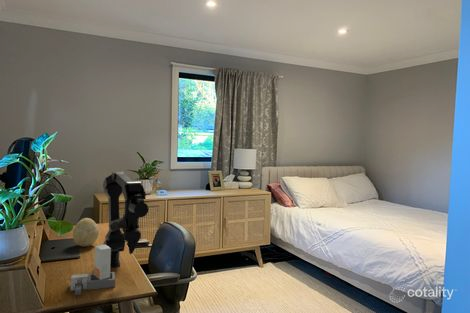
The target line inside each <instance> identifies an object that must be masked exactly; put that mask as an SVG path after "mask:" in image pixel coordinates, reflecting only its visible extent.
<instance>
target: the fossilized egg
mask: <svg viewBox="0 0 470 313" xmlns="http://www.w3.org/2000/svg"><path fill="white" fill-rule="evenodd" d="M99 235H100V229H99V226H98V224H97V223H96V222H95V220H93V219H92V218H89V217H84V218H82V219H80V220H79V221H78V222H77V223H76V224H75V226H74V228H73V230H72V238H73V241H74V242H75V244H77V245H78V246H80V247H84V248H86V247H90V246H92V245H93V244H95V242H96V241H97V240H98V239H99Z"/></svg>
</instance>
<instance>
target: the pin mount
mask: <svg viewBox="0 0 470 313" xmlns="http://www.w3.org/2000/svg"><path fill="white" fill-rule="evenodd" d="M88 274H89V273H82V274H71V276H70V287H69V288H70V291H71V292H72V291H75V288H76V283H77V280H83V284H82V290H87V283H88Z"/></svg>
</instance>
